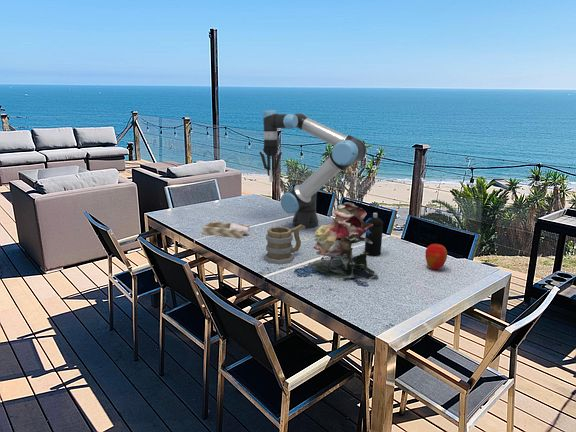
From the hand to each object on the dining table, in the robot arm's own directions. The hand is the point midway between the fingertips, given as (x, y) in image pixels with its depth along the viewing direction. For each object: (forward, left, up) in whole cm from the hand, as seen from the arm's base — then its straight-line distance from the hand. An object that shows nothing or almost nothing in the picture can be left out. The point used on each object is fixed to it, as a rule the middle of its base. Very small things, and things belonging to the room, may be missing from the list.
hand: (271, 181), depth 246 cm
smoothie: (+6, +22, -23) cm, 32 cm away
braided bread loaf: (+19, +21, -26) cm, 38 cm away
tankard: (-22, +47, -26) cm, 59 cm away
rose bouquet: (-49, +54, -26) cm, 78 cm away
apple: (-88, +40, -26) cm, 101 cm away
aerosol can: (-60, +29, -26) cm, 72 cm away
